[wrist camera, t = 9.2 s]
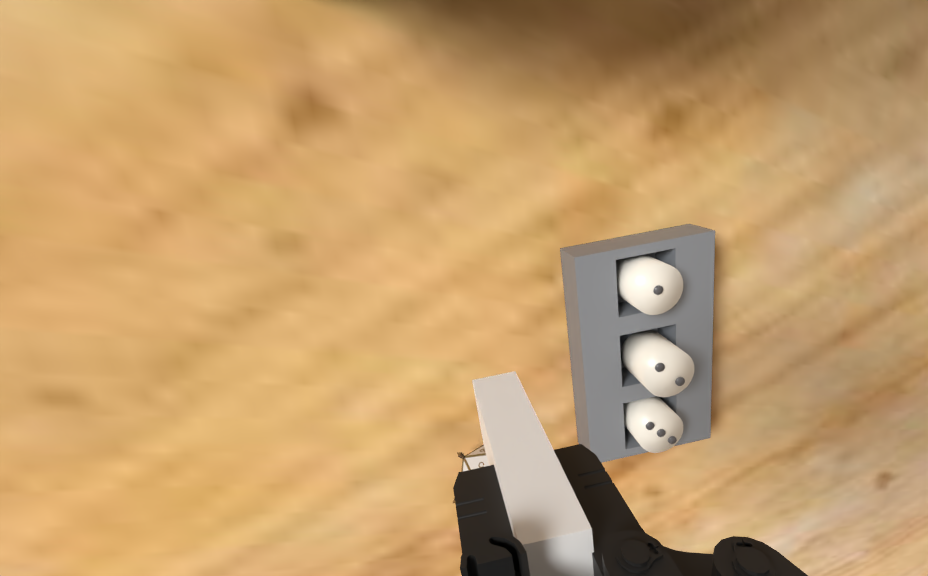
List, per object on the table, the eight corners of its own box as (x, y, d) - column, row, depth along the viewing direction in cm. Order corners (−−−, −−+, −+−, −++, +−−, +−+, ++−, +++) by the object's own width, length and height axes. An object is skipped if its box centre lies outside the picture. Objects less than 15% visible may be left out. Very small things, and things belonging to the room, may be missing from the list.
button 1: (607, 256, 45) (632, 269, 40) (654, 247, 45) (684, 259, 40) (610, 302, 46) (634, 320, 41) (655, 293, 46) (684, 309, 42)
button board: (560, 248, 45) (574, 257, 41) (689, 223, 46) (715, 230, 42) (578, 441, 52) (591, 464, 49) (688, 417, 53) (710, 437, 50)
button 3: (615, 392, 50) (638, 418, 45) (657, 383, 50) (684, 408, 45) (617, 428, 51) (639, 458, 46) (658, 419, 52) (684, 447, 47)
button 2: (619, 334, 45) (644, 356, 41) (664, 325, 46) (695, 346, 41) (621, 376, 47) (646, 402, 42) (665, 367, 47) (695, 392, 42)
